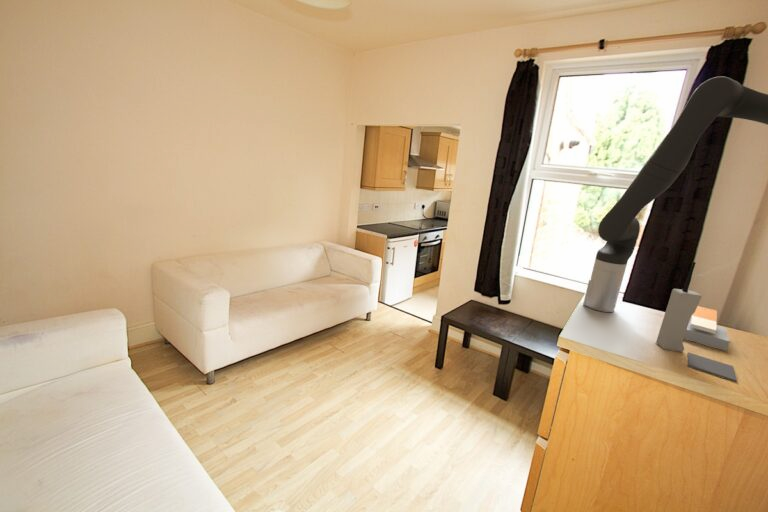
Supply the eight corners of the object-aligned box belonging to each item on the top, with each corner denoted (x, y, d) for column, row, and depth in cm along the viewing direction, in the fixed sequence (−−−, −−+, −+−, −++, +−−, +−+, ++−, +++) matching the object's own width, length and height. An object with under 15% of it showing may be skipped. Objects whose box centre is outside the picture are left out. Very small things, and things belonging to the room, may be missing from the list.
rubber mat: (687, 366, 89) (688, 364, 89) (687, 353, 96) (688, 352, 95) (736, 382, 83) (737, 380, 83) (732, 367, 90) (733, 366, 90)
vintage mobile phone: (683, 352, 96) (712, 265, 90) (662, 349, 97) (690, 262, 91) (675, 346, 100) (703, 261, 93) (655, 342, 101) (681, 259, 94)
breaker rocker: (689, 326, 104) (691, 323, 104) (692, 308, 112) (693, 304, 112) (714, 333, 101) (716, 330, 100) (715, 313, 109) (716, 310, 108)
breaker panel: (672, 335, 107) (676, 322, 106) (673, 323, 116) (677, 310, 115) (725, 350, 99) (731, 336, 98) (722, 336, 109) (726, 323, 108)
